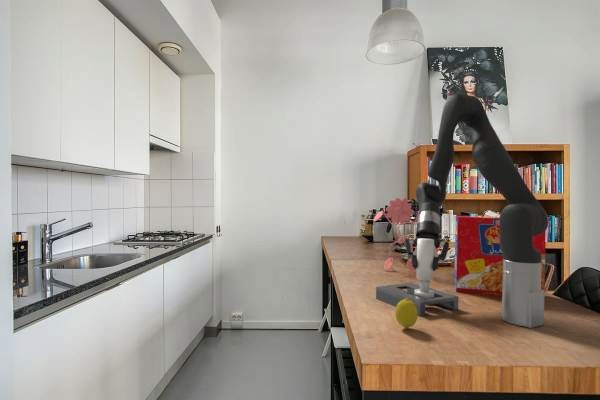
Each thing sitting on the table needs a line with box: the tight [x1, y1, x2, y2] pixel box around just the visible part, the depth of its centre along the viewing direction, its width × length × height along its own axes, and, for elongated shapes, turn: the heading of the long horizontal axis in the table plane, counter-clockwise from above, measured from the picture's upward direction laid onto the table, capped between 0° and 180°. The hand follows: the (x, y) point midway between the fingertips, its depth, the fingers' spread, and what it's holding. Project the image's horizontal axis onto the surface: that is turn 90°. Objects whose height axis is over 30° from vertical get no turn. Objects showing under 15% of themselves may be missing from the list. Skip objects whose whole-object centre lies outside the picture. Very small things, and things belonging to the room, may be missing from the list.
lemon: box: [395, 298, 418, 330], centre depth 93 cm, size 6×6×8 cm
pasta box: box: [453, 215, 547, 297], centre depth 131 cm, size 28×8×28 cm, turn 72°
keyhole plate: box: [375, 282, 459, 317], centre depth 116 cm, size 20×16×4 cm
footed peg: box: [414, 238, 434, 299], centre depth 112 cm, size 6×6×18 cm
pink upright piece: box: [373, 197, 419, 278], centre depth 164 cm, size 15×26×35 cm, turn 62°
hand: (424, 268), depth 111 cm, fingers closed on footed peg, 5 cm apart
